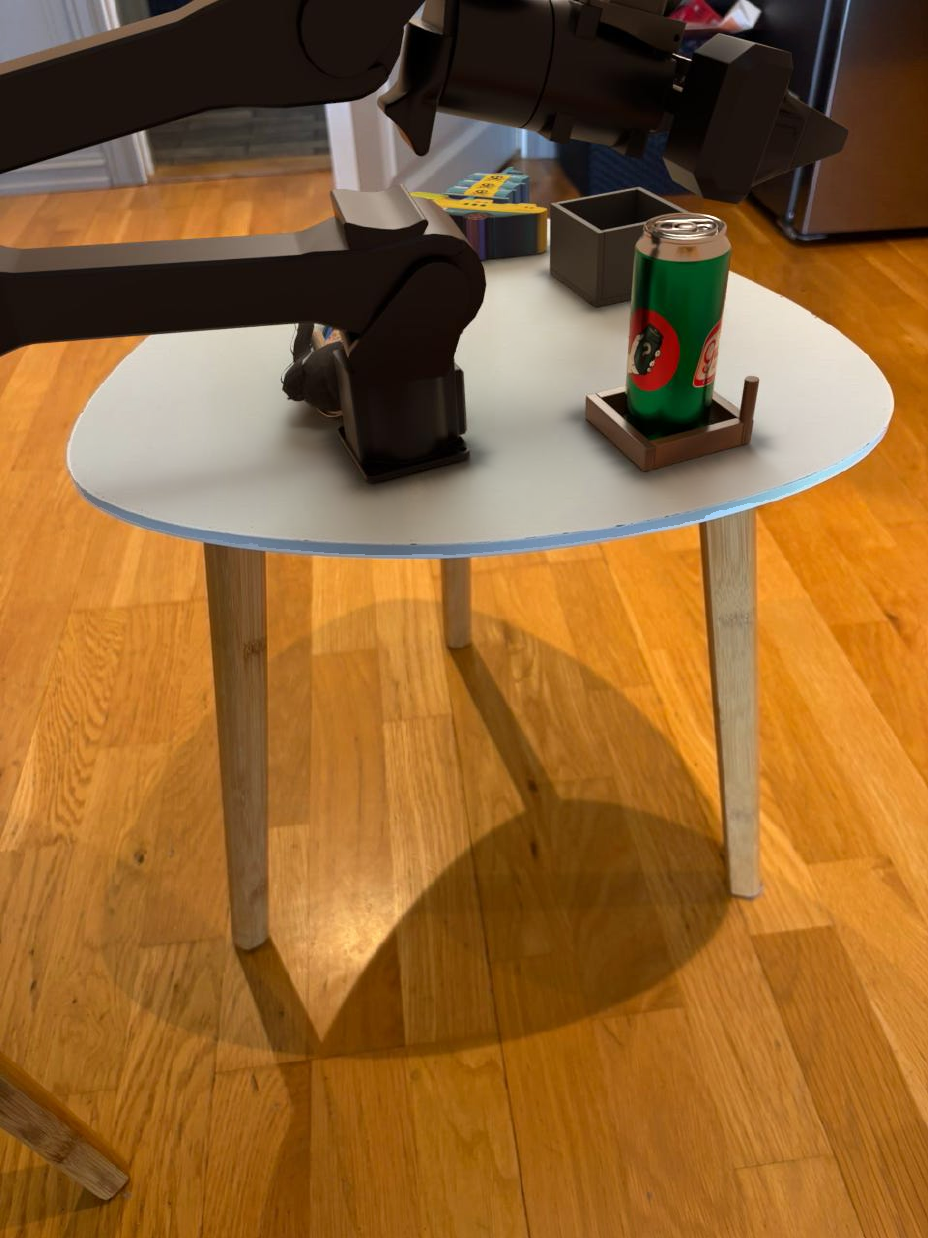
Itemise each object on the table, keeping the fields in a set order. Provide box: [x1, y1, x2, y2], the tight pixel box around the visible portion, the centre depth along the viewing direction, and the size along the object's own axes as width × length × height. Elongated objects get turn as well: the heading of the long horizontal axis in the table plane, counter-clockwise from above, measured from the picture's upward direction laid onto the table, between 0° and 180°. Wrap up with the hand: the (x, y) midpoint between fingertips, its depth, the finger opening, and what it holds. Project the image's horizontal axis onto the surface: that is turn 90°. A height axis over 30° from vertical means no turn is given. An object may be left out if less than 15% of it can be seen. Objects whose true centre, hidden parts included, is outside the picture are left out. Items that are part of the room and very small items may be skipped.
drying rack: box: [584, 375, 760, 472], centre depth 56 cm, size 7×7×4 cm
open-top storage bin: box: [549, 186, 691, 308], centre depth 74 cm, size 8×8×6 cm
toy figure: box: [280, 323, 344, 418], centre depth 63 cm, size 7×6×15 cm
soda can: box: [623, 212, 733, 441], centre depth 53 cm, size 5×5×12 cm
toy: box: [408, 166, 548, 261], centre depth 85 cm, size 16×3×15 cm
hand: (795, 121), depth 51 cm, fingers open, 9 cm apart
